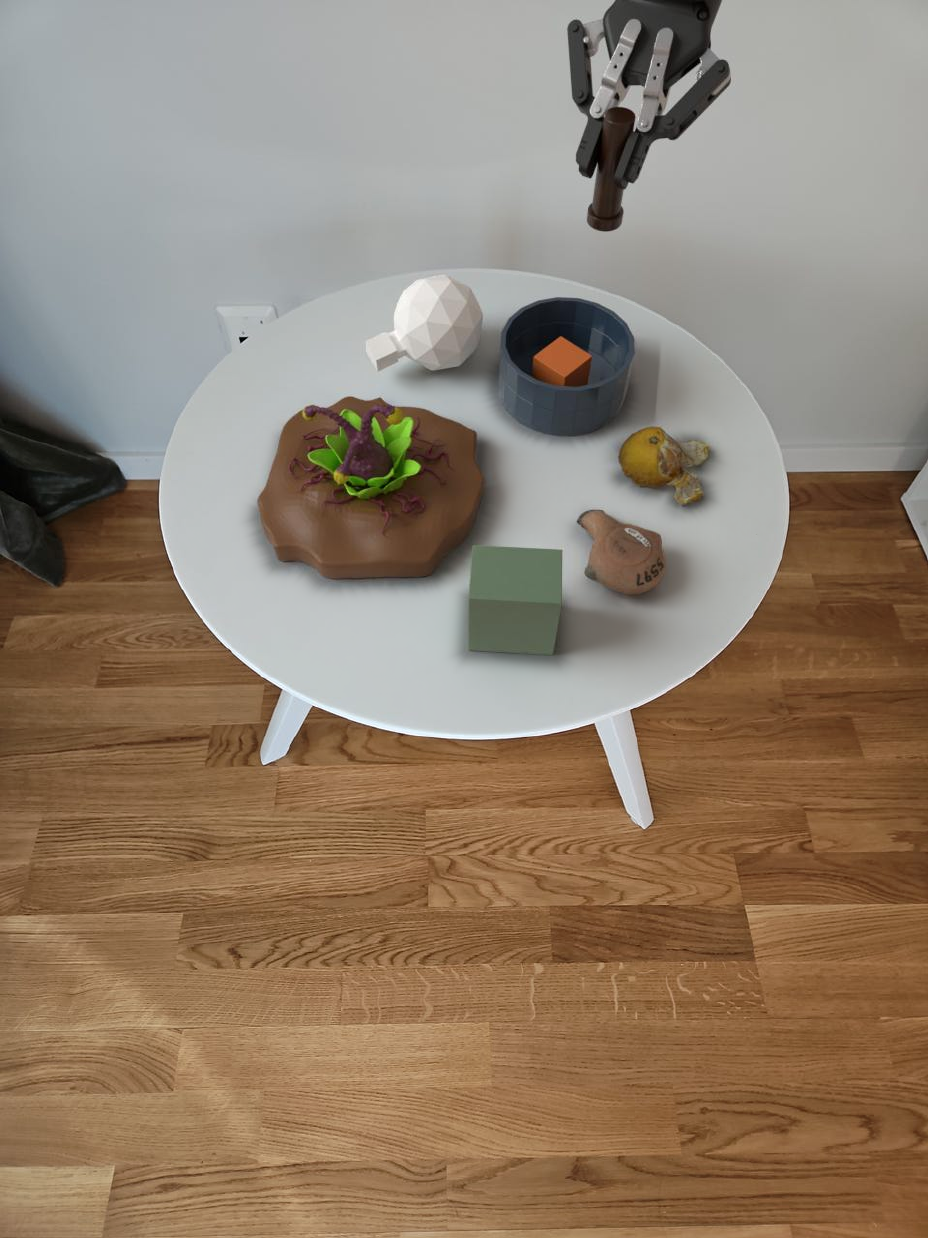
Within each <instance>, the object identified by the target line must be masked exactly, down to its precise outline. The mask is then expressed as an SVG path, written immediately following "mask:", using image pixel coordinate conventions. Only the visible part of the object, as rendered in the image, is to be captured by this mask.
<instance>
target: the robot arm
mask: <svg viewBox="0 0 928 1238" xmlns="http://www.w3.org/2000/svg"><path fill="white" fill-rule="evenodd" d="M722 2H723V0H614V2H613V3H612V4H611V5H610V6H609V7H608V8H607V10H606V11H605V12H604V14H603V16H602V18H600V19H597V20H594V21H591V22H587V23H582V21H581V20H580V19H577V18H576V19H572V20H571V21H570V22H569V23H568V24H567V29H566V30H567V46H568V59H569V73H570V84H571V85H570V86H571V87H570V89H571V98H572V101H573V103H574V104H575V105H576V107H577V109H578V110H579V112H580V113H581V114H584V115H585V116H586V117H587V120H586V125H585V128H584V130H583V133H582V136H581V140H580V142H579V144H578V146H577V150H576V153H575V162H576V164H577V165H578V172H579V174H580V175H581V176H582V177H584V178H587V179H592V178H593V176H594V174H595V172H596V170H597V164H598V157H599V150H600V142H601V135H602V127H603V120H604V114H605V112H606V111H607V110H608V109H610V108H613V107H620V104H621V103H622V102H623V101H624V100H625V98H626V96H627V94H628V93H629V90H630V89H631V87H632V86H633V87H634V86H636V87H637V86H641V87H643V93H642V101H641V105H640V109H639V114H638V117H637V121H636V127H635V128H634V131H631V132H630V135H629V138H628V140H627V143H626V146H625V148H624V151H623V154H622V156H621V159H620V162H619V165H618V167H617V170H616V173H615V175H614V180H613V182H614V184H615V185H616V187H618V188H621V189H624V191H625V190H627V188H628V185H629V183H630V184H635V183H636V181H637V180H638V179H639V177H640V174H641V171H642V169H643V167H644V164H645V161H646V158H647V157H648V153H649V150H650V148H651V145H652V144H653V143H654V142H655V141H658V140H664V139H668V140H669V141H676V140H677V139H679V138H680V137H681V136H682V135H683V134H684V133H685V132H686V131H687V130H688V129H689V128H690V127H691V126H692V125H693V123H695V122H696V121H697V120H698V118H699V117H700V116H701V115H703V114H704V112H705V111H706V110H707V109H708V108H709V107H710V106H711V105H712V104H713V103H714V102H715V101H716V100H717V99H718V98H719V97H720V96H721V95H722V94H723V92H725V91H726V90H727V88H729V86H730V85H731V83H732V73H731V68H730V65H729V62H728V60H726V59H722V58H721V59H720V58H719V57H718V56H717V55H716V54H715V53H714V52H713V51H712V50H711V48H712V41H711V32H712V28H713V25H714V23H715V20H716V18H717V15H718V12H719V10H720V7H721V4H722ZM603 39H605V45H606V50H607V53H608V58H609V63H608V64H607V67H606V69H605V70H604V72H603V75H602V77H601V83H600V86H599V88H598V91H597V93H596V95H595V96H594V91H593V75H592V73H593V72H592V61H591V57H594V56H595V55H596V54H597V53H598V51H599V45H600V42H601V41H602V40H603ZM699 65H700V66H699ZM698 66H699V68H698V70H697V71H696V73H695V81H696V82H695V83H694V84H693V85H692V86H691V87H690V88H689V89H688V90H687V91H686V92H685V93H684V95H683V96H682V97H680V98H679V100H678V101H677V102H676V103H675V104H674V105H673V106H672V107H671V108H670V109H669V110H668V111H667V112H666V113H665V114H664V112H665V111H666V107H667V104H668V100H669V96H670V92H671V88H672V87H673V86H674V85H675V84H676V83H677V82H679V81H680V80H681V79H683V77H685V76H687V75H688V74H689V73H690V72H691V71H692V70H694V69H695V68H697V67H698Z"/></svg>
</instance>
